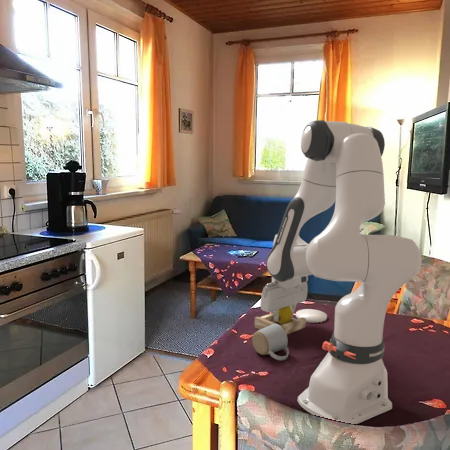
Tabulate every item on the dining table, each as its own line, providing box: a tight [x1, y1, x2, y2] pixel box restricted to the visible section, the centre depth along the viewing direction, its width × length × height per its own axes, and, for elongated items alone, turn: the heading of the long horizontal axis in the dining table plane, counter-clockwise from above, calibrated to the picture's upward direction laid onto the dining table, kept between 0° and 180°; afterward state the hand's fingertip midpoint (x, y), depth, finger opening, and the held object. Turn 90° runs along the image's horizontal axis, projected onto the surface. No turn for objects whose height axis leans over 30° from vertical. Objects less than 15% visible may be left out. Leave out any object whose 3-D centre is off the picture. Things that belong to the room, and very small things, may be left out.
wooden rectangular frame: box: [254, 312, 307, 336], centre depth 143 cm, size 14×11×4 cm
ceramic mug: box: [251, 323, 290, 361], centre depth 123 cm, size 11×8×8 cm
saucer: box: [295, 308, 328, 324], centre depth 153 cm, size 11×11×1 cm
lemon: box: [277, 306, 293, 325], centre depth 144 cm, size 6×6×8 cm
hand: (283, 318), depth 144 cm, fingers closed on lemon, 5 cm apart
